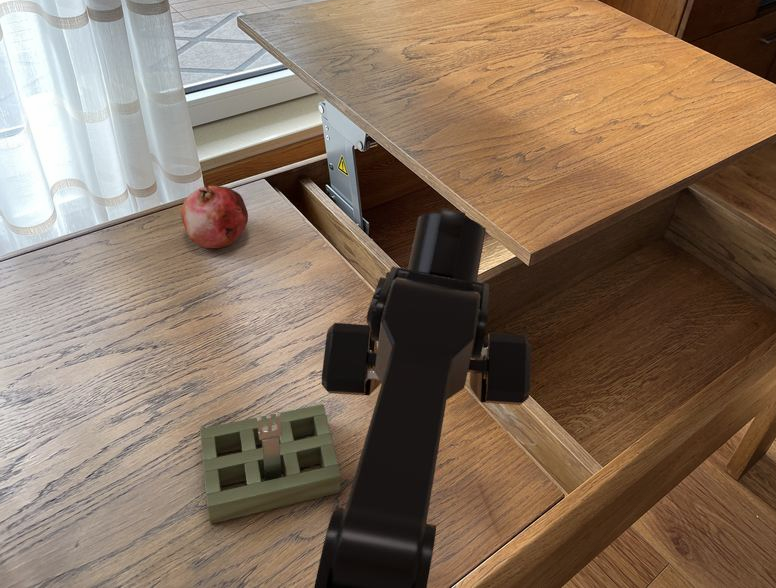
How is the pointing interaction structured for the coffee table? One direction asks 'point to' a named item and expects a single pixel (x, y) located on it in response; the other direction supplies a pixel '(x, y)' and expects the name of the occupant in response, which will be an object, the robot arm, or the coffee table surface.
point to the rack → (252, 465)
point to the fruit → (214, 216)
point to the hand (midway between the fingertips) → (427, 376)
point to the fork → (270, 446)
